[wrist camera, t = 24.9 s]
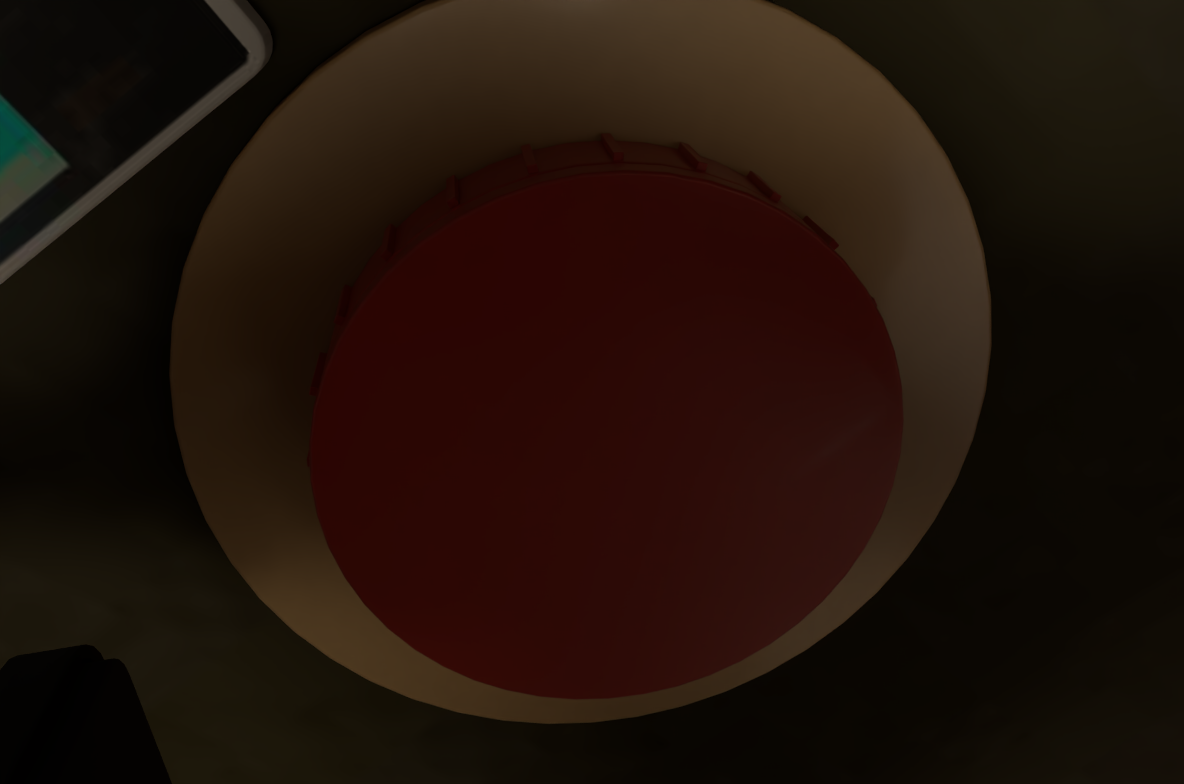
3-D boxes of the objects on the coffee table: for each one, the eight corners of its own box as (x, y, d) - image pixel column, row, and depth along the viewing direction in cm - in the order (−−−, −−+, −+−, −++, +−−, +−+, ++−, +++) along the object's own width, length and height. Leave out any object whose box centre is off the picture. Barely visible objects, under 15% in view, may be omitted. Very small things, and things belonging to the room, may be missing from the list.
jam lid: (253, 181, 11) (228, 218, 10) (864, 94, 11) (917, 119, 10) (380, 668, 14) (374, 747, 13) (862, 584, 14) (904, 652, 13)
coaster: (956, 632, 16) (974, 657, 15) (292, 750, 15) (286, 782, 15) (993, -93, 11) (1021, -92, 11) (59, 32, 11) (39, 39, 10)
